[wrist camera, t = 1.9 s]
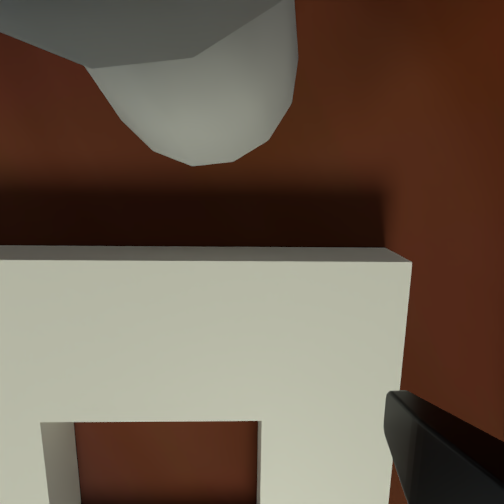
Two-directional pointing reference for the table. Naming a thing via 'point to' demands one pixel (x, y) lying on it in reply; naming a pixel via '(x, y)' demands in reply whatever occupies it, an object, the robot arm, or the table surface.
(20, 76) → the table surface
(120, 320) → the socket board
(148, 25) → the salt shaker
